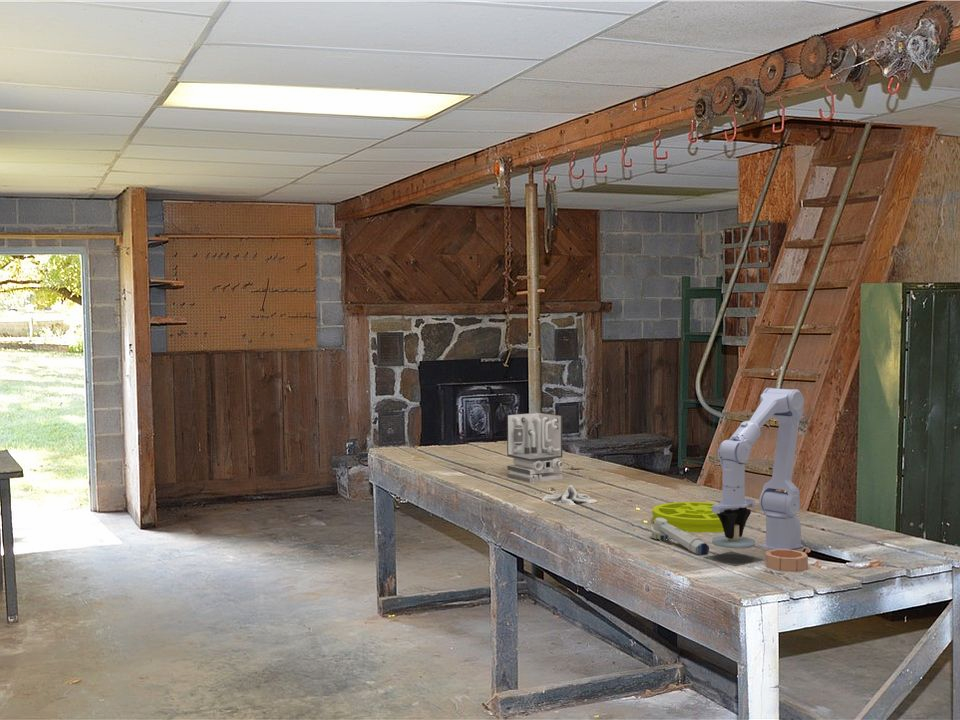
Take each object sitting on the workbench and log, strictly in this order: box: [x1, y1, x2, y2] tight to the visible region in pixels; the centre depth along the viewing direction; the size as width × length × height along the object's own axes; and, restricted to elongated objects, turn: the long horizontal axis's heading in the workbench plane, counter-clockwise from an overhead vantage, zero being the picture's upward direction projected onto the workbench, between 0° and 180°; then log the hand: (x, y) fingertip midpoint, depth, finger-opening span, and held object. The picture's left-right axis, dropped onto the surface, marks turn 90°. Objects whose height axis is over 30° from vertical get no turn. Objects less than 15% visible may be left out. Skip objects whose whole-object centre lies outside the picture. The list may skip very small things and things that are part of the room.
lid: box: [711, 524, 756, 550], centre depth 259 cm, size 11×11×5 cm
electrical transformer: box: [506, 412, 563, 484], centre depth 389 cm, size 16×19×25 cm
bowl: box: [764, 549, 809, 572], centre depth 251 cm, size 10×10×4 cm
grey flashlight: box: [650, 518, 710, 556], centre depth 275 cm, size 5×7×25 cm
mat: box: [703, 551, 764, 567], centre depth 259 cm, size 11×11×1 cm
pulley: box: [652, 501, 724, 533], centre depth 306 cm, size 28×28×5 cm
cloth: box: [541, 484, 598, 506], centre depth 341 cm, size 22×19×6 cm
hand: (733, 537), depth 259 cm, fingers closed on lid, 3 cm apart
